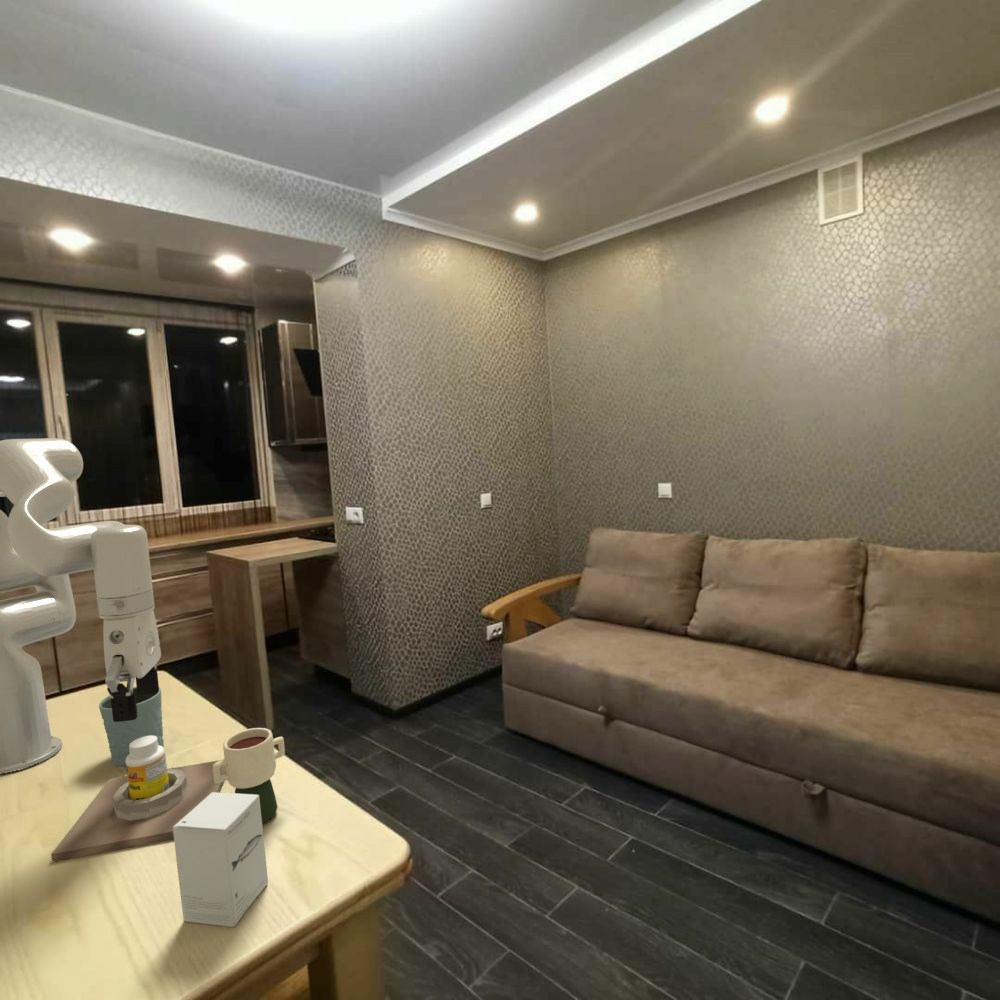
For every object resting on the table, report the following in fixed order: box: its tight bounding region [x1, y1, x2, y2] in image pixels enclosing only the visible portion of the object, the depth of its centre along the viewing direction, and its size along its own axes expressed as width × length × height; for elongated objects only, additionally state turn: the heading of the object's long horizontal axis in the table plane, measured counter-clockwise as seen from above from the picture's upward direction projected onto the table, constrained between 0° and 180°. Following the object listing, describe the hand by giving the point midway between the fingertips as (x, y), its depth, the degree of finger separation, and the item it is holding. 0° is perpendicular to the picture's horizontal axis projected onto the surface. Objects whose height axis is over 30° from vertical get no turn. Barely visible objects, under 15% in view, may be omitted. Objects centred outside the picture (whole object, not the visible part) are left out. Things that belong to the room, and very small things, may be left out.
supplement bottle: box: [125, 736, 170, 801], centre depth 96 cm, size 6×6×10 cm
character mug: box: [213, 727, 286, 824], centre depth 91 cm, size 11×7×13 cm, turn 134°
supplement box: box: [173, 792, 269, 928], centre depth 74 cm, size 7×7×13 cm
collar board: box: [50, 759, 226, 862], centre depth 96 cm, size 20×20×4 cm
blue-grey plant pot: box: [98, 686, 165, 768], centre depth 113 cm, size 10×10×12 cm
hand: (137, 706), depth 95 cm, fingers open, 9 cm apart
